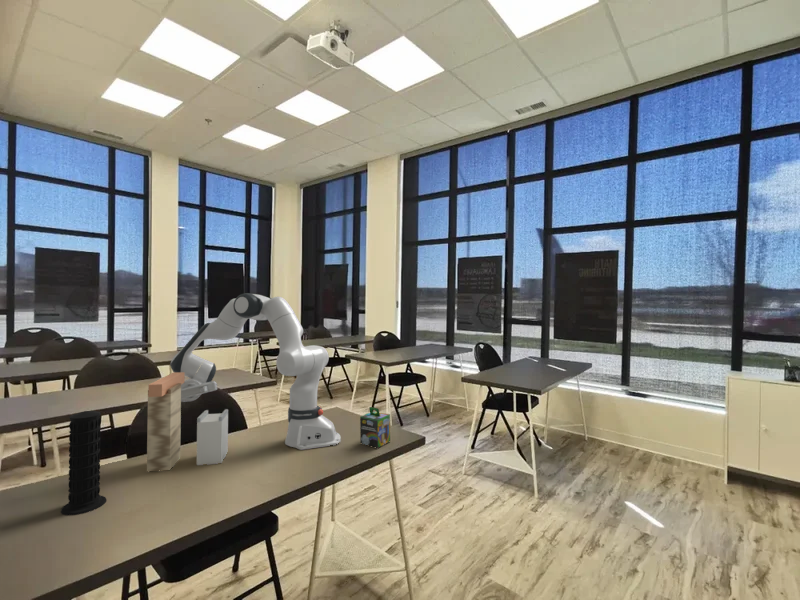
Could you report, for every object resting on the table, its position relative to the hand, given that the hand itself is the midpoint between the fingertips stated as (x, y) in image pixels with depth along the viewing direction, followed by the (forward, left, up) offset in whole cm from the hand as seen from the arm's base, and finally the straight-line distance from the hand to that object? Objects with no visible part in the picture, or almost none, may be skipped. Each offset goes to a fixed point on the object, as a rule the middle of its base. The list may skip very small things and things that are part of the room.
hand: (189, 393), depth 152 cm
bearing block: (+3, +17, -21) cm, 27 cm away
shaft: (+3, +14, +5) cm, 15 cm away
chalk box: (-73, +9, -21) cm, 76 cm away
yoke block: (-12, +14, -21) cm, 28 cm away
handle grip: (+14, +42, -21) cm, 49 cm away
